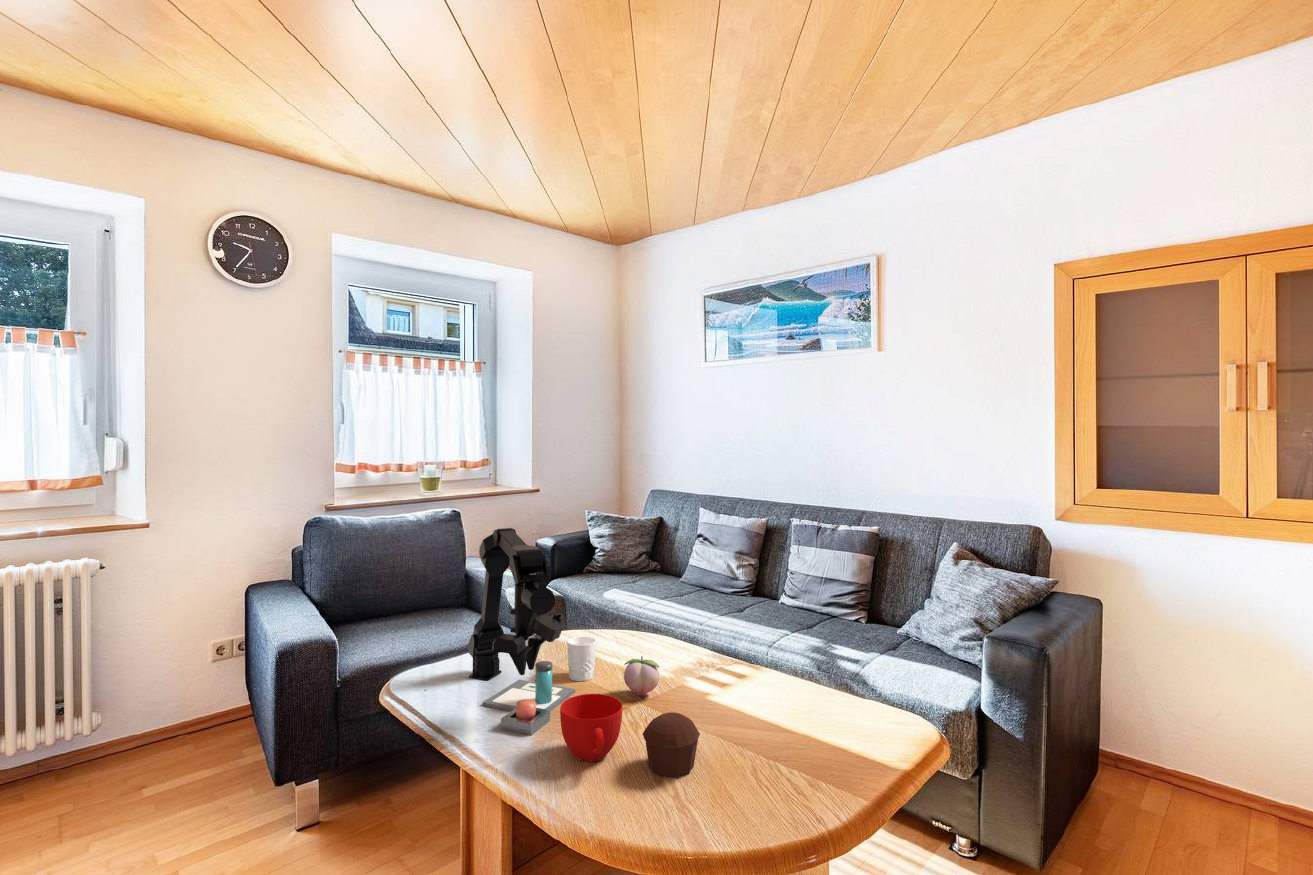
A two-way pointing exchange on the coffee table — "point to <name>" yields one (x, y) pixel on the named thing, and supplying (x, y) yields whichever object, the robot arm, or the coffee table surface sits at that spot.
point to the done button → (526, 709)
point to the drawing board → (526, 696)
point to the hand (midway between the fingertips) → (526, 672)
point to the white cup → (581, 658)
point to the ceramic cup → (591, 725)
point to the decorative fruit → (641, 675)
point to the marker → (543, 682)
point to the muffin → (671, 745)
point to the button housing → (525, 722)
